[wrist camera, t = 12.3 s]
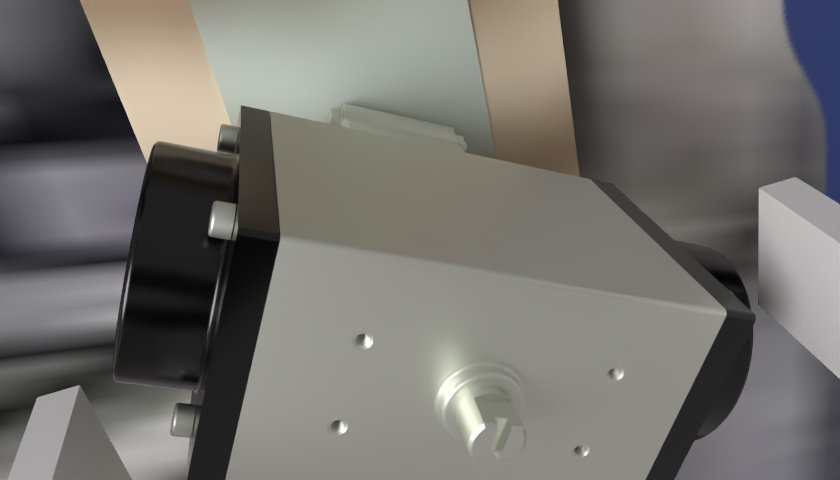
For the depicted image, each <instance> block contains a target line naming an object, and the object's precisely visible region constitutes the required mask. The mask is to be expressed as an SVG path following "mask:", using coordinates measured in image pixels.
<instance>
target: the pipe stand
mask: <svg viewBox="0 0 840 480" xmlns="http://www.w3.org/2000/svg"><path fill="white" fill-rule="evenodd" d="M80 2H81V4H82V7H83V9H84V12H85V14H86V16H87V19H88V21H89V24H90V26H91V29H92V31H93V33H94V36H95V38H96V41H97V43H98V45H99V48H100V50H101V53H102V55H103V58H104V60H105V62H106V65H107V67H108V70H109V72H110V75H111V77H112V79H113V82H114V84H115V87H116V89H117V92H118V94H119V96H120V99H121V101H122V104H123V106H124V108H125V111H126V113H127V116H128V118H129V121H130V123H131V125H132V128H133V130H134V133H135V135H136V138H137V140H138V142H139V145H140V147H141V150H142V152H143V154H144V157H145V159H146V162H147V163H148V160H149V156H150V153H151V150H152V147H153V145H154V144H155V143H156V142H157V141H163V142H169V143H174V144H179V145H184V146H189V147H195V148H200V149H205V150H210V151H215V152H218V151H217V143H218V137H219V132H220V127H221V125H222V124H227V125H232V126H237V123H238V118H239V112H240V107H241V105H243V106H247V107H252V108H257V109H262V110H266V111H269V112H270V111H271V112H276V113H280V114H285V115H290V116H295V117H299V118H304V119H309V120H314V121H318V122H323V123H327V118H328V114H329V111H330V109H331V108H335V109H339V108H341V107H342V105H343V104H344V103H346V104H350V105H355V106H359V107H364V108H368V109H373V110H377V111H382V112H386V113H391V114H396V115H400V116H405V117H409V118H414V119H418V120H423V121H427V122H432V123H436V124H441V125H445V126H450V127H453V128H454V133H455V135H459V136H463V138H464V142H466V144H467V149H466V152H465V153H469V154H474V155H479V156H483V157H488V158H493V159H498V160H502V161H507V162H512V163H516V164H521V165H526V166H531V167H535V168H540V169H545V170H549V171H554V172H559V173H564V174H568V175H573V176H578V177H580V174H579V166H578V158H577V150H576V142H575V134H574V126H573V118H572V110H571V102H570V94H569V86H568V78H567V70H566V63H565V55H564V47H563V39H562V31H561V23H560V15H559V7H558V0H80ZM220 153H222V152H220ZM226 154H227V153H226Z"/></svg>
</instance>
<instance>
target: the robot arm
mask: <svg viewBox="0 0 840 480" xmlns="http://www.w3.org/2000/svg"><path fill="white" fill-rule="evenodd" d="M758 304H759V305H760V306H761V307H762V308H763V309H764V310H765V311H766V312H767V313H768V314H770V315H771V316H772V317H773V318H774V319H775V320H776V321H777V322H778V323H779V324H780V325H782V326H783V327H784V328H785V329H786V330H787V331H788V332H789V333H790V334H791V335H792V336H794V337H795V338H796V339H797V340H798V341H799V342H800V343H801V344H802V345H803V346H804V347H806V348H807V349H808V350H809V351H810V352H811V353H812V354H813V355H814V356H815V357H816V358H818V359H819V360H820V361H821V362H822V363H823V364H824V365H825V366H826V367H827V368H828V369H830V370H831V371H832V372H833V373H834V374H835V375H836V376H837V377H838V378H839V379H840V204H838V203H837V202H835V201H834V200H832V199H830V198H829V197H827V196H826V195H824V194H822V193H821V192H819V191H818V190H816V189H814V188H813V187H811V186H810V185H808V184H806V183H805V182H803V181H801V180H800V179H798V178H797V177H794V178H790V179H787V180H784V181H780V182H777V183H773V184H770V185H766V186H763V187H759V246H758ZM8 480H132V479H131V477H130V475H129V474H128V472H127V470H126V468H125V466H124V465H123V463H122V461H121V459H120V457H119V455H118V454H117V452H116V450H115V448H114V446H113V444H112V443H111V441H110V439H109V437H108V435H107V434H106V432H105V430H104V428H103V426H102V424H101V423H100V421H99V419H98V417H97V415H96V414H95V412H94V410H93V408H92V406H91V404H90V403H89V401H88V399H87V397H86V395H85V394H84V392H83V390H82V388H81V386H80V385H79V386H75V387H72V388H68V389H65V390H62V391H58V392H55V393H51V394H48V395H44V396H41V397H38V398H37V400H36V403H35V405H34V408H33V411H32V414H31V416H30V419H29V422H28V425H27V428H26V430H25V433H24V436H23V439H22V441H21V444H20V447H19V450H18V452H17V455H16V458H15V461H14V463H13V466H12V469H11V472H10V474H9V477H8Z"/></svg>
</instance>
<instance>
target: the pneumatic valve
mask: <svg viewBox="0 0 840 480" xmlns="http://www.w3.org/2000/svg"><path fill="white" fill-rule="evenodd" d="M466 149H467V144H466V142H464V138H463V136H459V135H455V133H454V128H453V127H450V126H445V125H441V124H436V123H432V122H427V121H423V120H418V119H414V118H409V117H405V116H400V115H396V114H391V113H386V112H382V111H377V110H373V109H368V108H364V107H359V106H355V105H350V104H346V103H344V104H343V105H342V107H341V108H339V109H335V108H331V109H330V111H329V114H328V118H327V123H323V122H318V121H314V120H309V119H304V118H299V117H295V116H290V115H285V114H280V113H276V112H271V111H270V112H269V111H266V110H262V109H257V108H252V107H247V106H243V105H241V107H240V112H239V118H238V123H237V126H232V125H227V124H222V125H221V127H220V132H219V137H218V143H217V151H218V152H215V151H210V150H205V149H200V148H195V147H189V146H184V145H179V144H174V143H169V142H163V141H157V142H156V143H155V144H154V145H153V147H152V150H151V153H150V156H149V160H148V163H147V167H146V171H145V175H144V180H143V184H142V189H141V193H140V198H139V203H138V207H137V212H136V217H135V222H134V228H133V233H132V238H131V243H130V249H129V254H128V260H127V265H126V271H125V277H124V283H123V289H122V295H121V301H120V308H119V314H118V321H117V328H116V335H115V343H114V352H113V362H112V377H113V379H114V381H116V382H120V383H129V384H139V385H148V386H157V387H167V388H176V389H186V390H192V397H191V404H185V403H176V404H175V407H174V413H173V418H172V425H171V432H170V433H171V435H172V436H178V437H189V438H190V443H189V453H188V463H187V473H186V480H674V479H675V477H676V475H677V473H678V471H679V469H680V467H681V465H682V463H683V461H684V459H685V457H686V455H687V453H688V451H689V449H690V447H691V446H692V444H693V442H694V440H698V439H700V438H702V437H705V436H706V435H708V434H709V433H711V432H712V431H713V430H715V429H716V428H717V427H718V426H719V425H720V424H721V423H722V422H723V421H724V420H725V419H726V418H727V417H728V415H729V414H730V412H731V411H732V410H733V408H734V406H735V404H736V403H737V401H738V399H739V397H740V395H741V392H742V390H743V387H744V385H745V382H746V379H747V375H748V371H749V367H750V362H751V356H752V347H753V324H754V322H755V319H756V317H755V314H754V313H753V312H752V311H751V307H750V303H749V299H748V295H747V292H746V289H745V287H744V284H743V282H742V280H741V278H740V276H739V274H738V273H737V271H736V269H735V268H734V267H733V266H732V264H731V263H730V262H729V261H728V260H727V259H726V258H725V257H724V256H723V255H721V254H720V253H718V252H717V251H715V250H714V249H711V248H709V247H706V246H702V245H697V244H691V243H686V242H681V241H676V240H673V239H672V238H671V237H670V236H669V235H668V234H667V233H665V232H664V231H663V230H662V229H661V228H660V227H659V226H658V225H657V224H656V223H655V222H653V221H652V220H651V219H650V218H649V217H648V216H647V215H646V214H645V213H644V212H643V211H642V210H641V209H639V208H638V207H637V206H636V205H635V204H634V203H633V202H632V201H630V200H629V199H628V198H627V197H626V196H625V195H624V194H623V193H622V192H621V191H620V190H618V189H617V188H616V187H615V186H614V185H613V184H611V183H606V182H601V181H597V180H592V179H587V178H582V177H578V176H573V175H568V174H564V173H559V172H554V171H549V170H545V169H540V168H535V167H531V166H526V165H521V164H516V163H512V162H507V161H502V160H498V159H493V158H488V157H483V156H479V155H474V154H469V153H465V152H466ZM220 152H222V153H220ZM226 153H227V154H226Z"/></svg>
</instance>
